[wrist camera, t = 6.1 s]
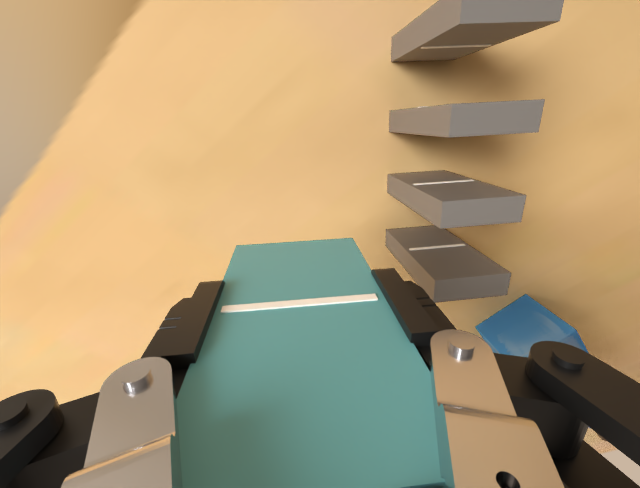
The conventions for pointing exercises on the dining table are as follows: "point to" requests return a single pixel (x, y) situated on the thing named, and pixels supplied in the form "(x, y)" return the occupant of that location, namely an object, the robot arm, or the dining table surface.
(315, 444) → the end tile
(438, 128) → the tile
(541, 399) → the robot arm
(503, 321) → the perfume bottle
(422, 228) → the tile
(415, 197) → the tile
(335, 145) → the dining table surface
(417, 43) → the tile
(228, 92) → the dining table surface
